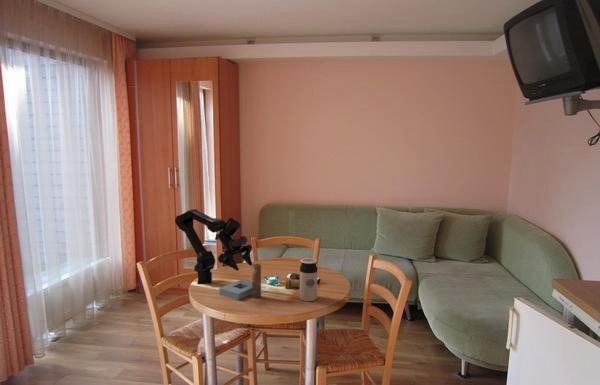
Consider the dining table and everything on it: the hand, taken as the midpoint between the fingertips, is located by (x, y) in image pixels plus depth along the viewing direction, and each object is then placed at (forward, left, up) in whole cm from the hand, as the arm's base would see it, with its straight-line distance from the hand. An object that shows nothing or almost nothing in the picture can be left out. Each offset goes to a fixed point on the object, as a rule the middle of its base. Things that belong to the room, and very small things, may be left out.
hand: (244, 267), depth 178 cm
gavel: (+26, +13, -13) cm, 32 cm away
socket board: (-2, +2, -12) cm, 13 cm away
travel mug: (+29, -10, -13) cm, 33 cm away
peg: (+5, -5, -13) cm, 14 cm away
